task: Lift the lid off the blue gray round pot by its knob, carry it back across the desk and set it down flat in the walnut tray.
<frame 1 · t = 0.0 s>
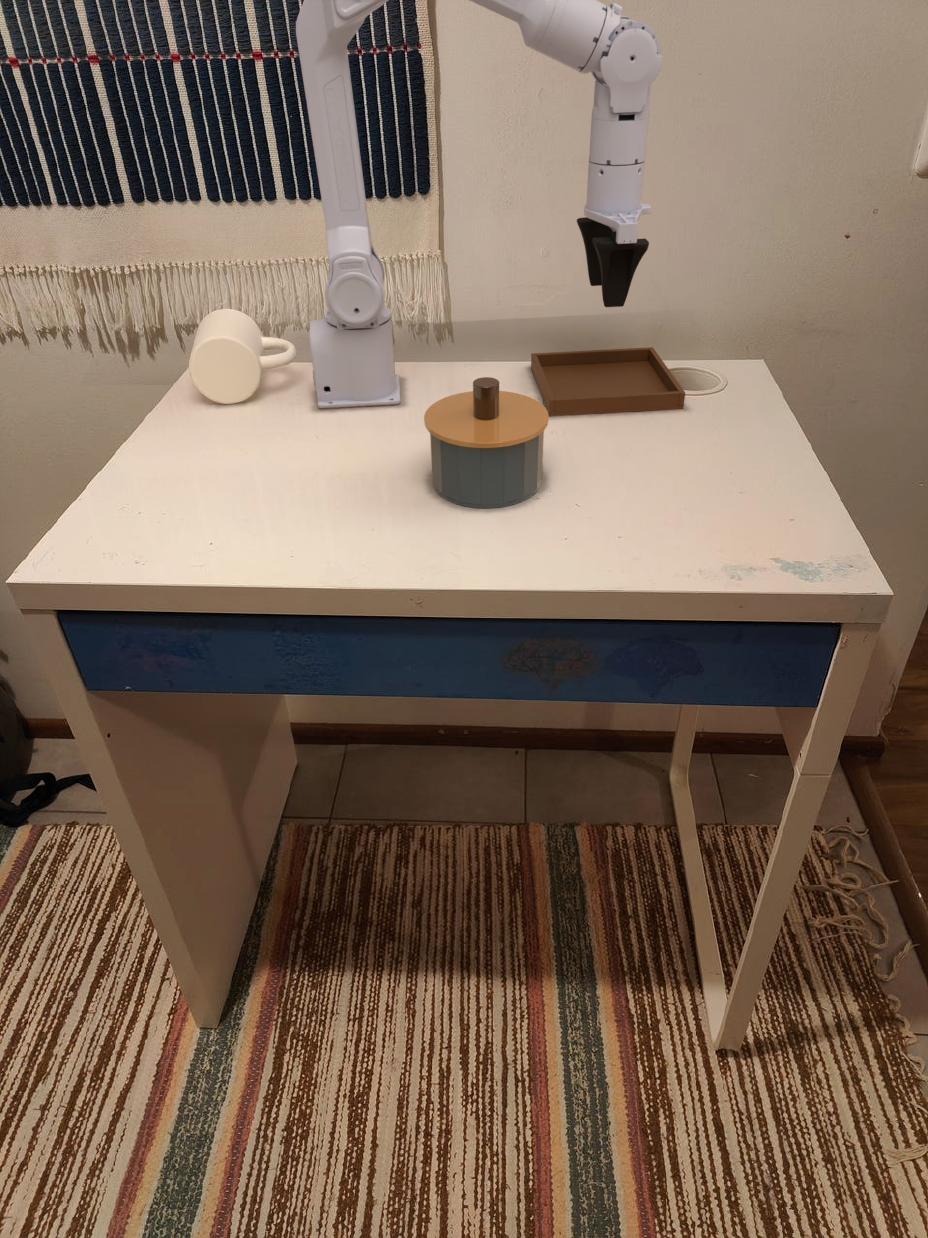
hand: (606, 294, 97), 10 cm above the table, tool pointing down, fingers open, 7 cm apart
blue gray round pot: (486, 480, 84), on the table
lid: (486, 419, 80), point 6 cm above the table, touching blue gray round pot
mug: (251, 388, 104), on the table
tray: (603, 387, 102), on the table
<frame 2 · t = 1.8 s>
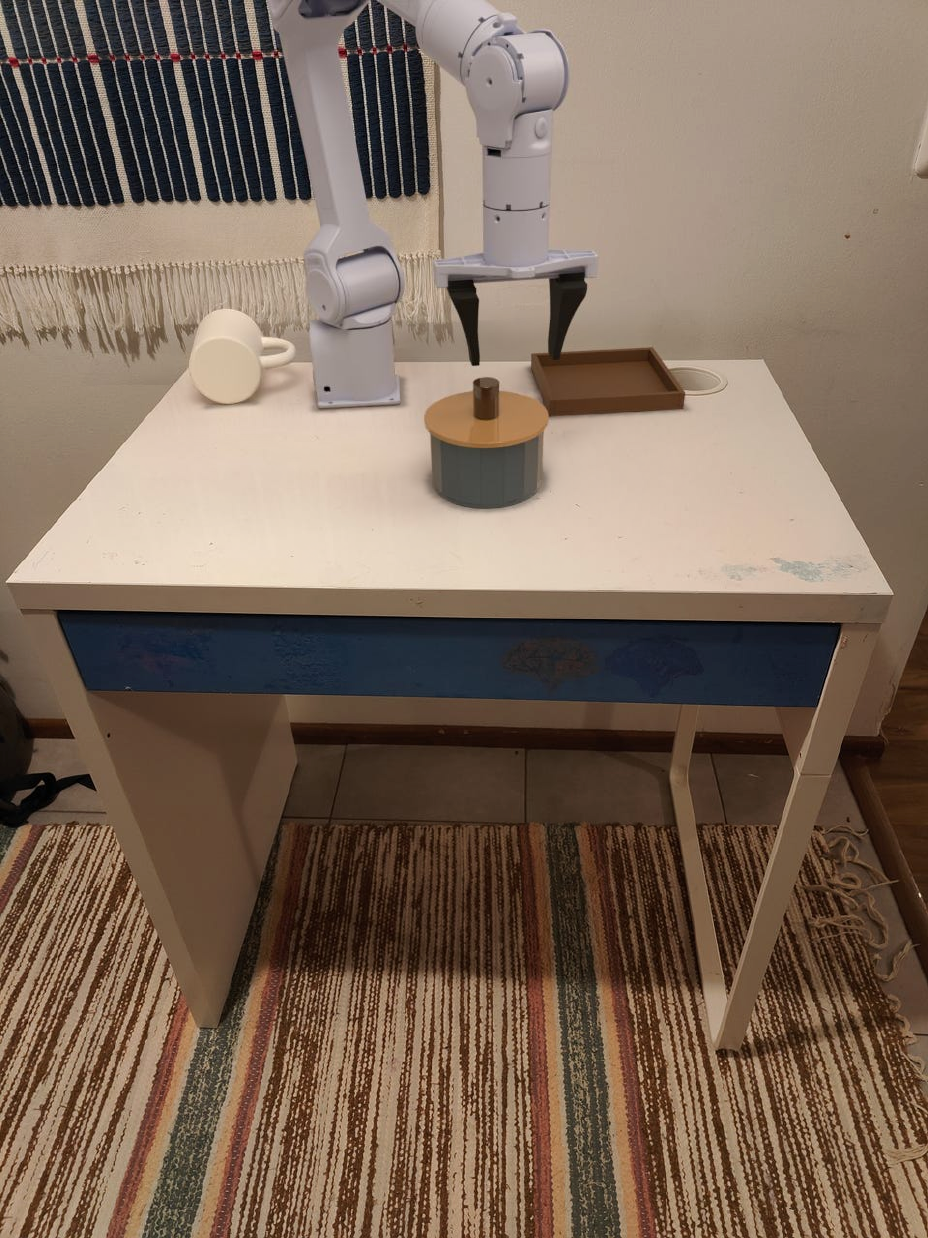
hand: (514, 359, 82), 10 cm above the table, tool pointing down, fingers open, 7 cm apart
nothing on the table moved.
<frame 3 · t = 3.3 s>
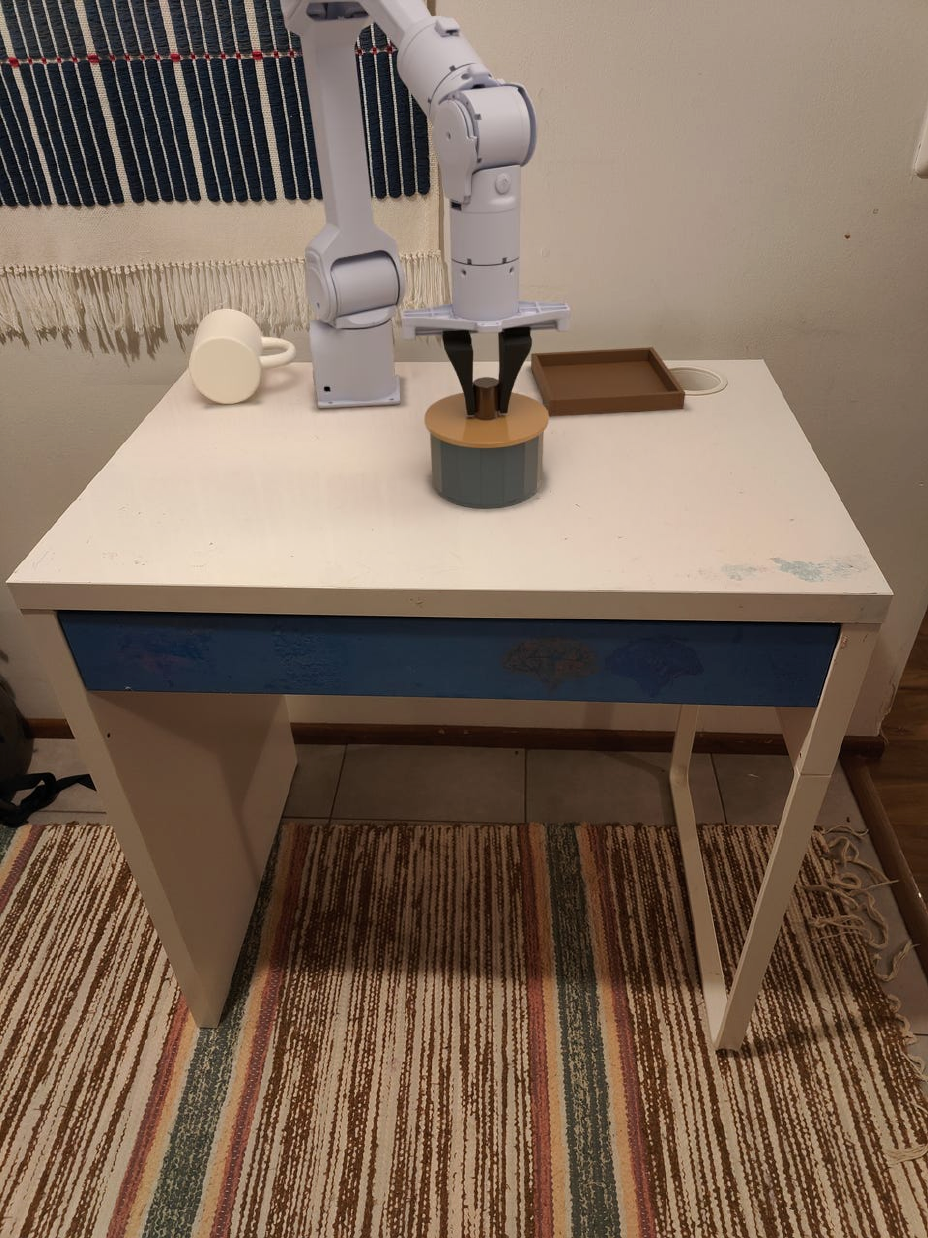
hand: (486, 409, 80), 7 cm above the table, tool pointing down, fingers closed on lid, 2 cm apart
lid: (486, 419, 80), point 6 cm above the table, touching blue gray round pot, gripper
everything else where it was.
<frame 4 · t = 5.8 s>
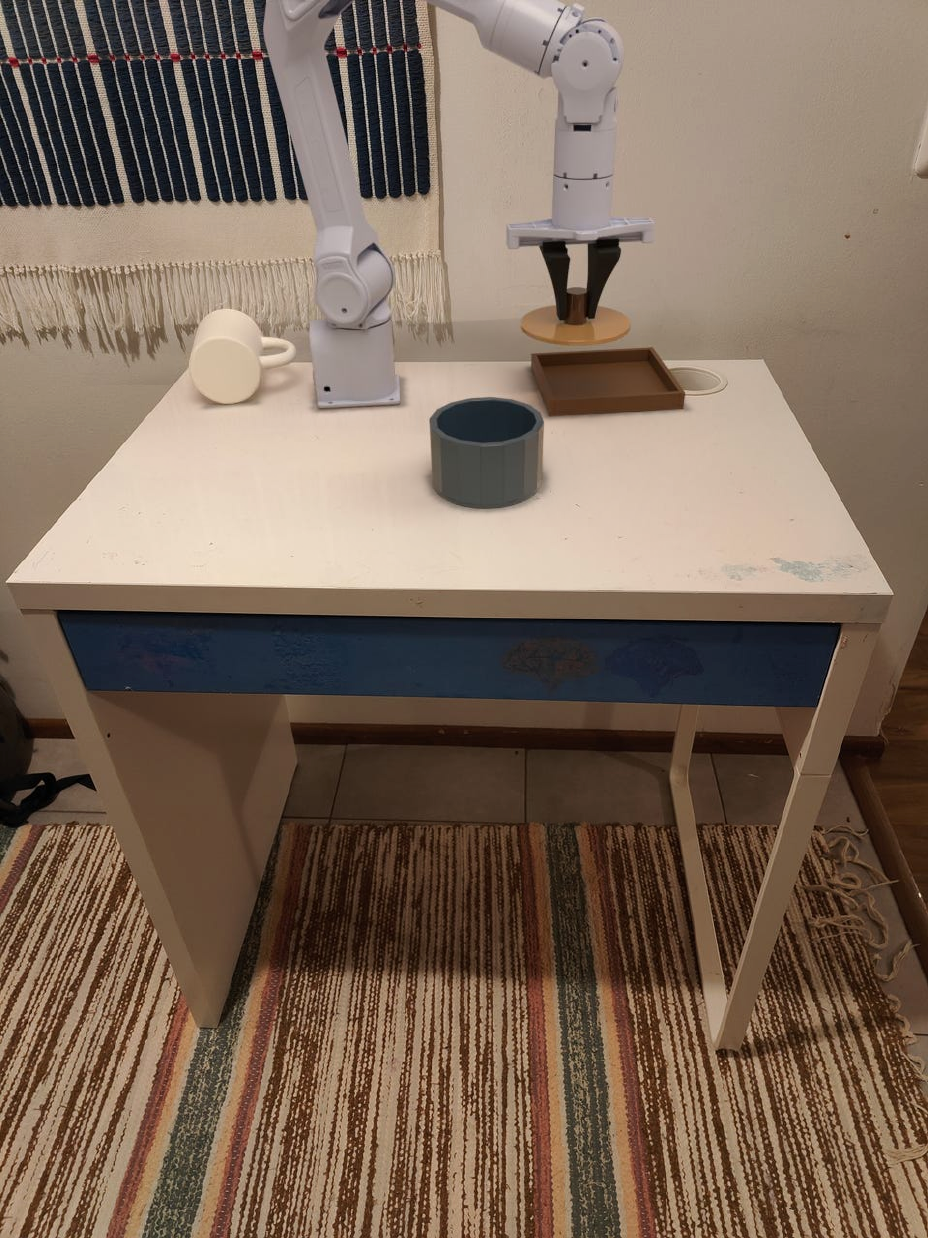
hand: (575, 316, 91), 10 cm above the table, tool pointing down, fingers closed on lid, 2 cm apart
lid: (574, 326, 91), point 9 cm above the table, touching gripper
everything else where it was.
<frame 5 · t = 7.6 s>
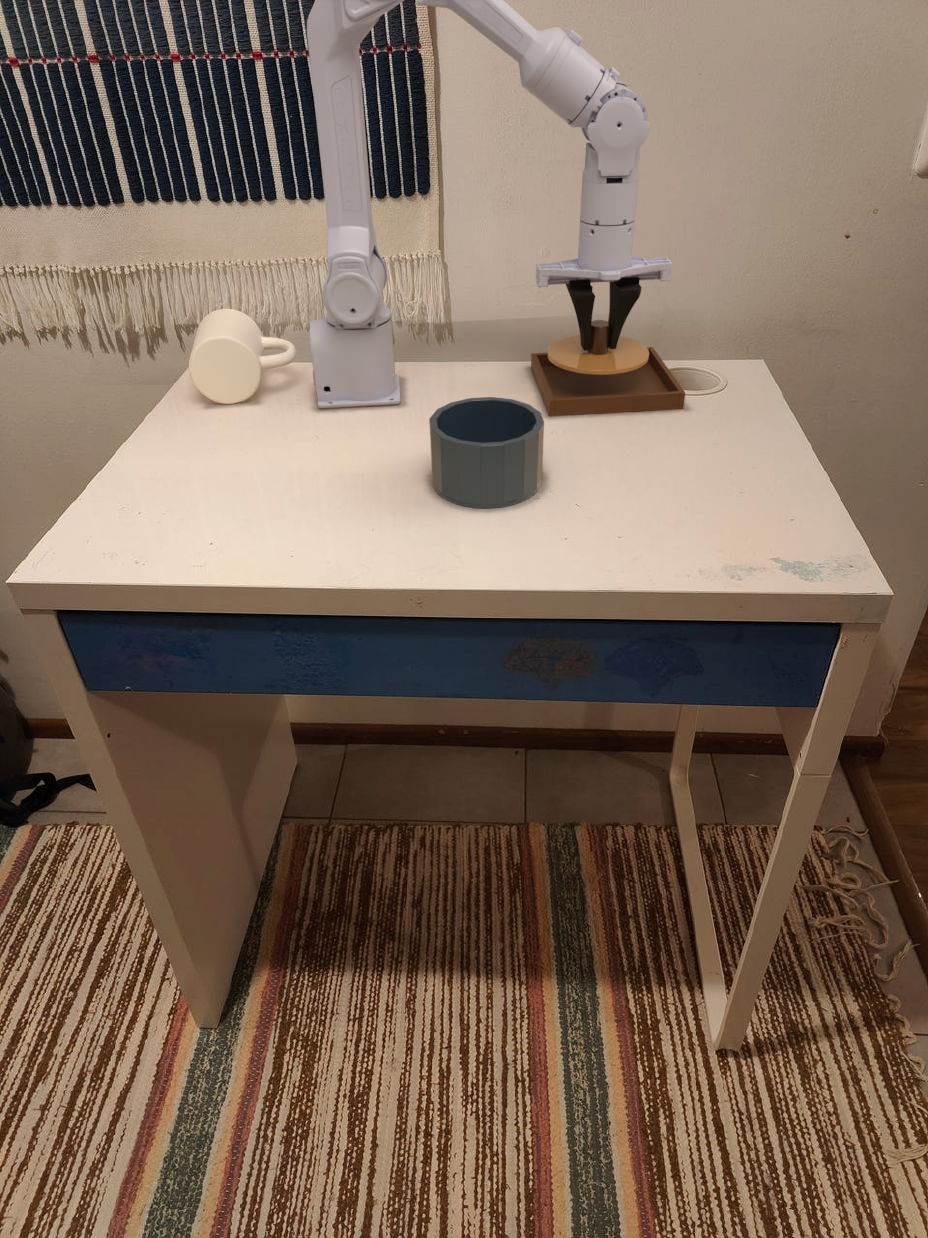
hand: (598, 346, 99), 5 cm above the table, tool pointing down, fingers closed on lid, 2 cm apart
lid: (597, 355, 99), point 4 cm above the table, touching gripper
everything else where it was.
when the fingers open (2 cm above the table, at t = 8.6 s): lid stays where it is, resting on tray.
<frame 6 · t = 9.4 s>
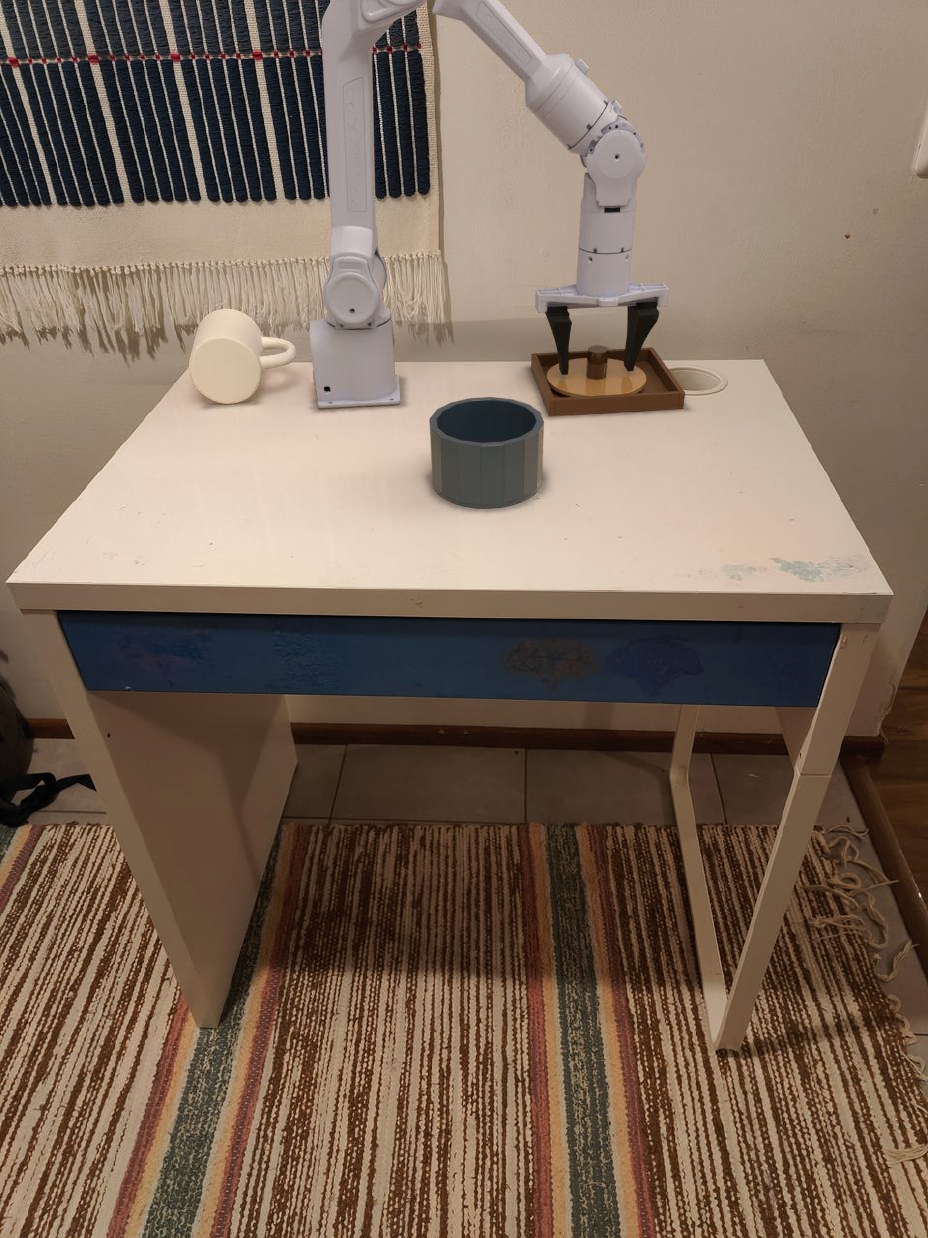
hand: (596, 369, 100), 2 cm above the table, tool pointing down, fingers open, 7 cm apart
lid: (595, 379, 101), point 1 cm above the table, touching tray
everything else where it was.
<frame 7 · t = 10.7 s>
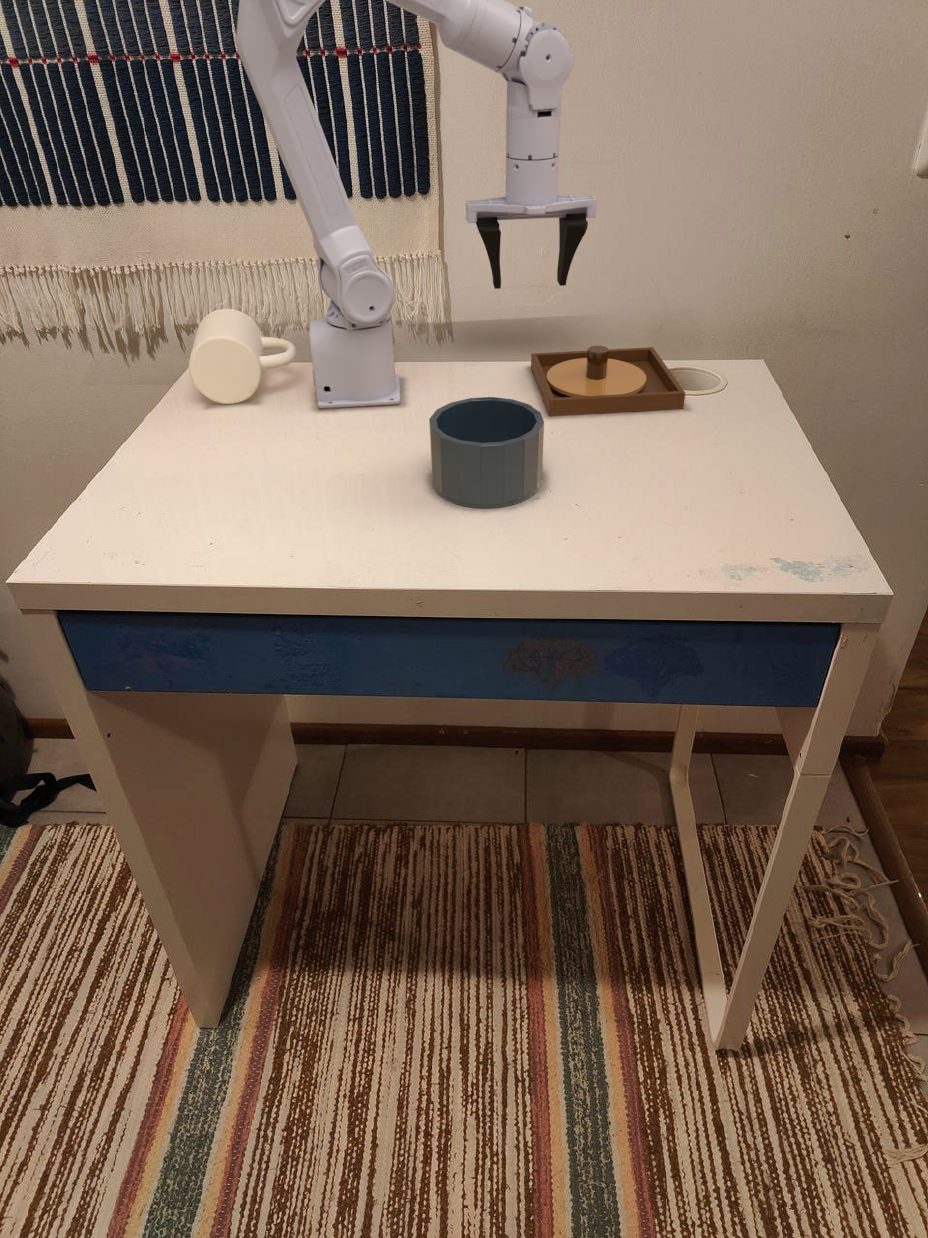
hand: (529, 284, 102), 10 cm above the table, tool pointing down, fingers open, 7 cm apart
nothing on the table moved.
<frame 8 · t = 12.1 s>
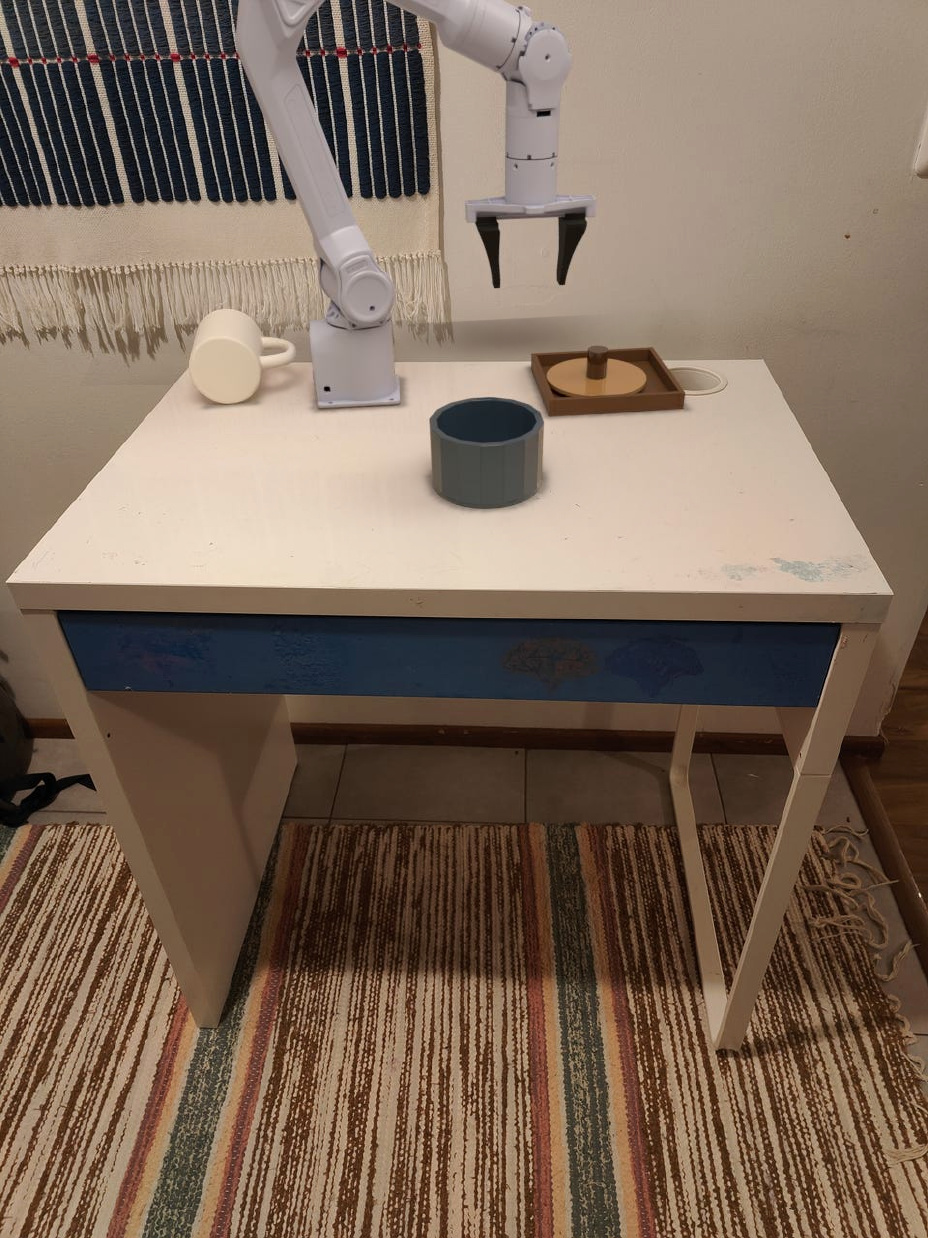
hand: (528, 284, 102), 10 cm above the table, tool pointing down, fingers open, 7 cm apart
nothing on the table moved.
at the end: lid inside the target area in the tray (1.0 cm from its centre), point 1.0 cm above the tray's base; lid tilted 0°; the gripper is holding nothing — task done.
